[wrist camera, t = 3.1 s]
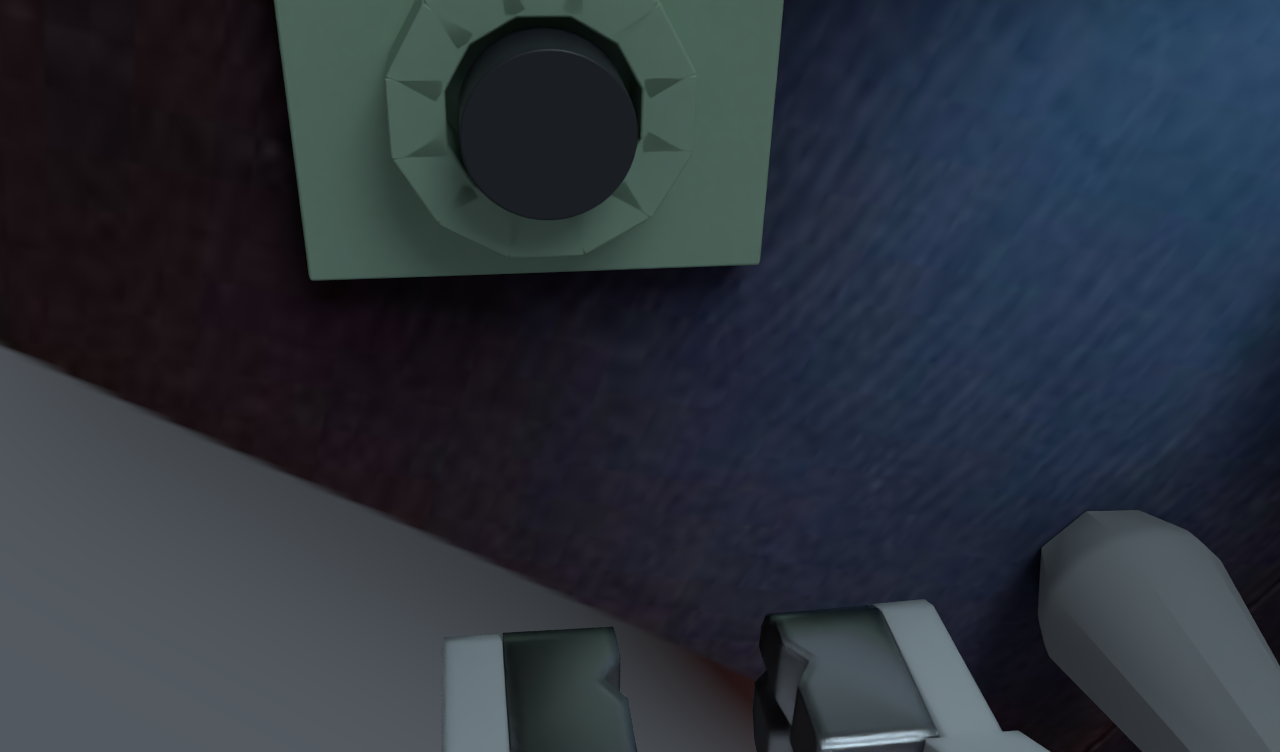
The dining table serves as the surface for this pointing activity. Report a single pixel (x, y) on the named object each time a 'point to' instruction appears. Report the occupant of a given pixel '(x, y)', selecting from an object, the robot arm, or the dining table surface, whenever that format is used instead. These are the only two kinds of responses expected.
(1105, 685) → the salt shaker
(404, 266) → the green dial panel
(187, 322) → the dining table surface
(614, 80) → the tare button
